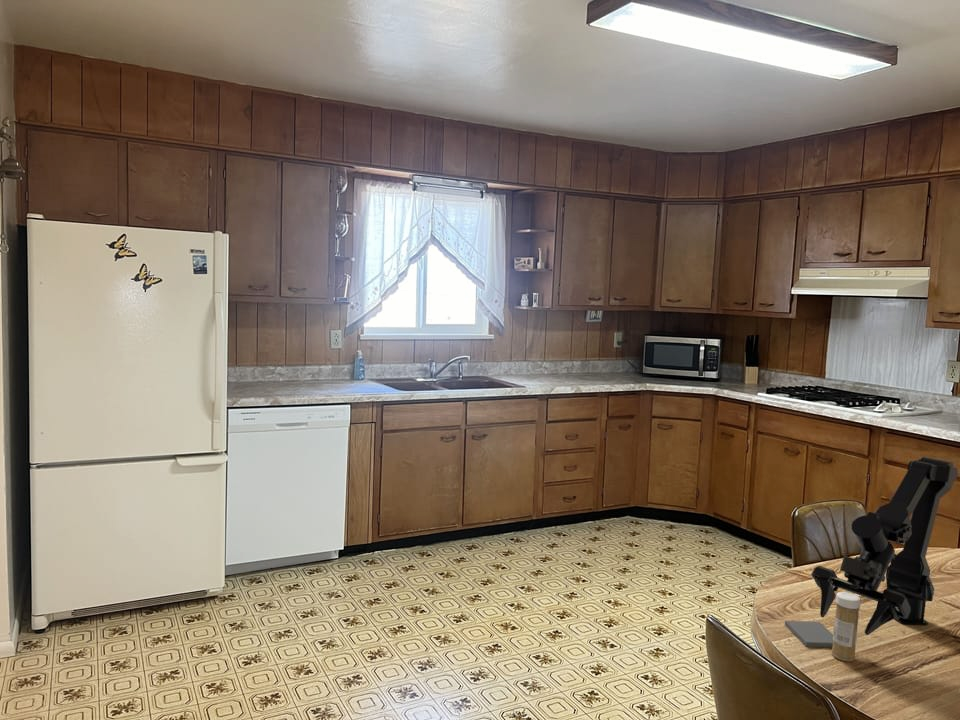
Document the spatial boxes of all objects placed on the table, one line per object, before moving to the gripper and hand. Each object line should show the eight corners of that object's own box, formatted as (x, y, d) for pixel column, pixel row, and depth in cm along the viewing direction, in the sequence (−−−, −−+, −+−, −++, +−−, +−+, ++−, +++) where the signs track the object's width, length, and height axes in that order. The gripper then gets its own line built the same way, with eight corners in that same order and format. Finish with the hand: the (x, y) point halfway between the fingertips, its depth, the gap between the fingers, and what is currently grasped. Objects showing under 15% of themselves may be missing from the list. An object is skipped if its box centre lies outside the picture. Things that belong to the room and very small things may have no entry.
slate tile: (818, 625, 165) (819, 621, 165) (841, 647, 155) (842, 643, 155) (784, 624, 165) (785, 620, 165) (805, 646, 155) (806, 642, 155)
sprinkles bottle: (859, 659, 151) (865, 597, 149) (847, 664, 148) (853, 602, 147) (838, 649, 154) (844, 589, 153) (826, 654, 152) (832, 593, 151)
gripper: (819, 529, 159) (789, 588, 153) (910, 557, 144) (880, 623, 138) (833, 557, 164) (804, 615, 159) (922, 586, 150) (894, 651, 144)
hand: (843, 624), depth 150 cm, fingers open, 9 cm apart
